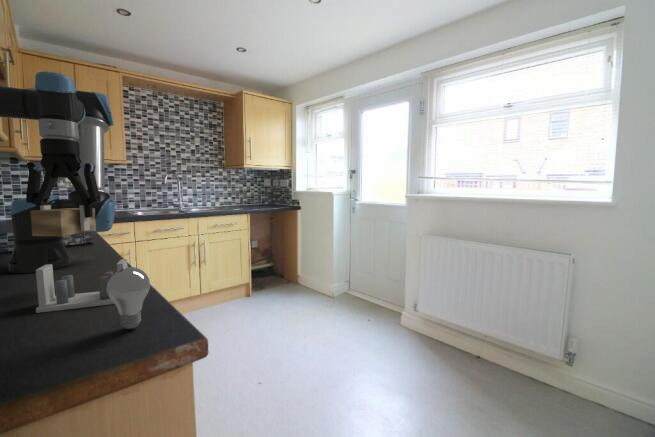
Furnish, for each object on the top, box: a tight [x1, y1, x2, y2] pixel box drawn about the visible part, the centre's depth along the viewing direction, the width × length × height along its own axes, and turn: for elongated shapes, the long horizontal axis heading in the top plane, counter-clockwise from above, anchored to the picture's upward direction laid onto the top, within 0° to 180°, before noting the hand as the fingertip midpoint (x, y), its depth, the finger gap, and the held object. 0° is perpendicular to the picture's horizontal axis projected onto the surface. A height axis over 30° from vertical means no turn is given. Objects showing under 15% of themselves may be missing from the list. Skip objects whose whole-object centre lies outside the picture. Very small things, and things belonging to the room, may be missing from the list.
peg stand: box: [35, 258, 128, 314], centre depth 74 cm, size 8×16×9 cm, turn 113°
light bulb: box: [107, 266, 151, 331], centre depth 60 cm, size 7×7×12 cm
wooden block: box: [31, 208, 96, 237], centre depth 80 cm, size 11×7×6 cm, turn 0°
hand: (66, 230), depth 81 cm, fingers closed on wooden block, 8 cm apart
